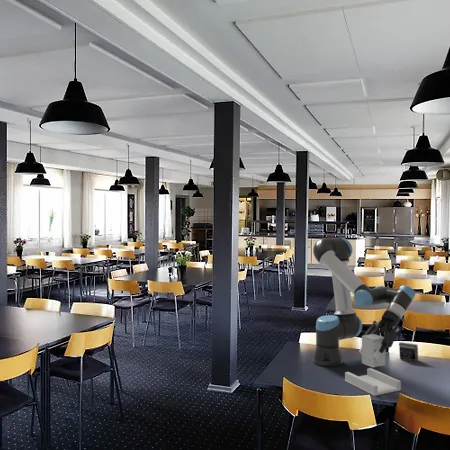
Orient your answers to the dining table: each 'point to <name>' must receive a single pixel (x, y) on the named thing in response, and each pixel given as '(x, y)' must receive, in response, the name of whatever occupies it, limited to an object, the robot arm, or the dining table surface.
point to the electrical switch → (408, 351)
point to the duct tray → (374, 382)
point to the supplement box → (372, 350)
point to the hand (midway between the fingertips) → (367, 355)
